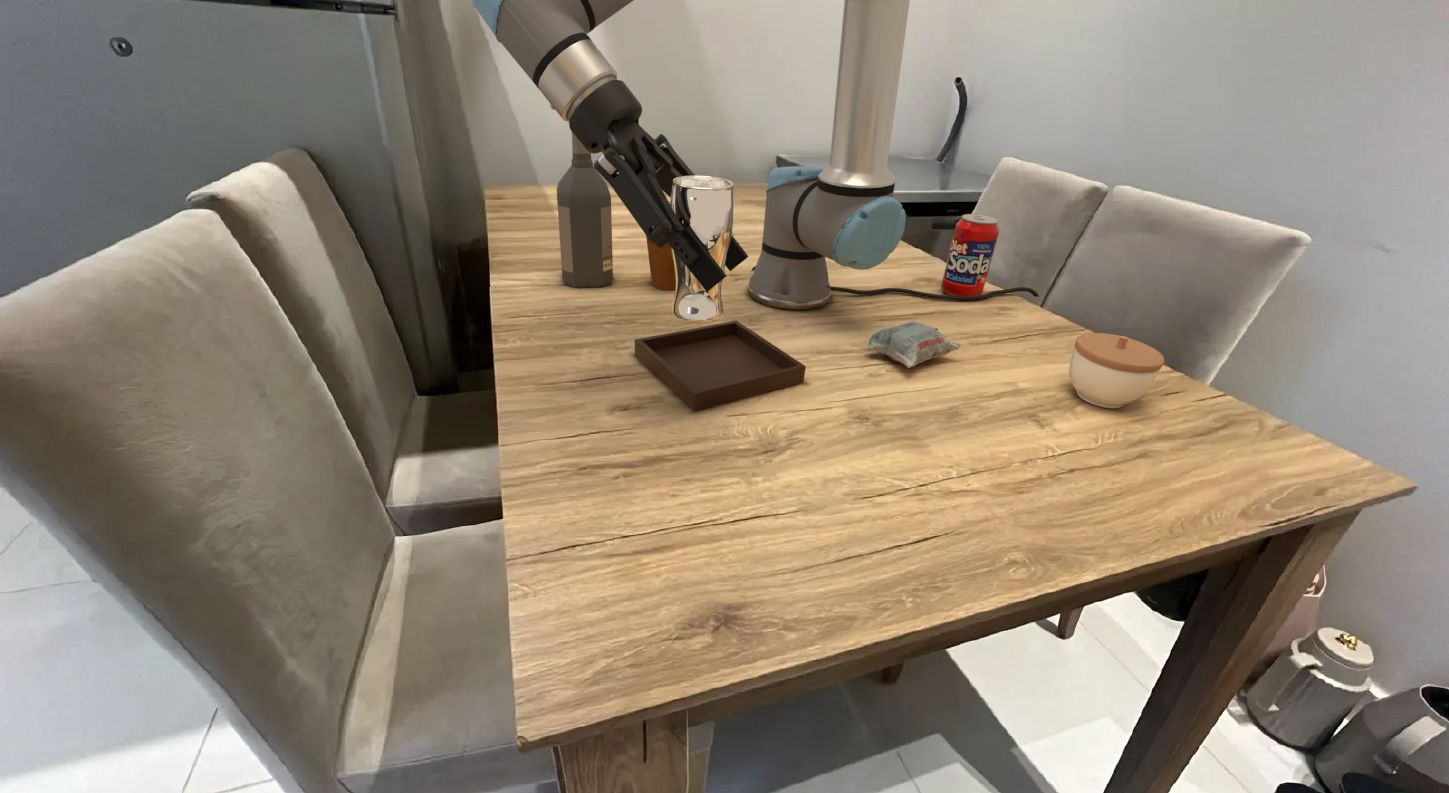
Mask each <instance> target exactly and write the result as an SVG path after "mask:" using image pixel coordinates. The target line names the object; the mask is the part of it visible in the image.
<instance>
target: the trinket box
mask: <svg viewBox="0 0 1449 793" xmlns="http://www.w3.org/2000/svg"><path fill="white" fill-rule="evenodd" d="M1164 364H1165V358H1164V356H1163V354H1162V353H1161V352H1160V351H1158V350H1157V349H1155V348H1154V347H1152V346H1150V345H1148V344H1146V343H1143V342H1141V341H1139V340H1136V339H1133V338H1131V337H1128V336H1125V335H1118V334H1112V333H1105V332H1104V333H1103V332H1088V333H1082V334H1080V335H1079V336H1077V338H1076V339H1075V342H1074V347H1073V350H1072V354H1071V357H1070V361H1069V366H1068V367H1069V368H1068V374H1069V379H1070V382H1071V385H1072V386H1073V388H1074V389H1075V393H1076V395H1077V396H1078V397H1079V398H1080V399H1082V401H1085V402H1087V403H1088V404H1091V405H1093V406H1097V407H1099V408H1105V409H1119V408H1122V407H1124V406H1125V405H1127V404H1130V403H1133V402H1135V401H1137V400H1138V399H1140V398H1141V397H1142V396H1144V395H1145V394H1146V393H1147V391H1148V390H1149V389H1150V388H1151V386H1152V385H1153V384H1154V382H1155V381H1156V378H1157V377H1158V374H1159V372H1160V370H1161V369H1162V368H1163V366H1164Z"/></svg>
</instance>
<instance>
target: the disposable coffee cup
mask: <svg viewBox="0 0 1449 793" xmlns="http://www.w3.org/2000/svg"><path fill="white" fill-rule="evenodd" d="M652 227H653V226H652ZM645 237H646V238H645V239H646V245H647V254H648V263H649V270H650V279H651V285H652V286H653V287H654V288H657V289H660V290H667V291H669V290H675V288H676V276H675V269H674V262H673V256H672V249H671V246H670V245H669V243H667V244H666V245H665V246H664V247H662V248H659V247H658V246H657V245H656V244H655V243H653V242H651V241H650V240H649V238H648V237H647V236H646V235H645Z"/></svg>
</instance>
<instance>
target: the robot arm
mask: <svg viewBox="0 0 1449 793" xmlns="http://www.w3.org/2000/svg"><path fill="white" fill-rule="evenodd" d="M634 1H635V0H471V2H472V5H473V7H474V8H475V10H476V11H477V12H478V14H479V15H480V16H481V18H482V19H483V21H484V22H485V23H486V25H487V26H488V28H489V29H490V30H491V32H492V33H493V35H494V36H495V40H496V41H497V42H498V43H500V44H501V45H502V46H503V47H504V49H505V50H506V51H507V53H508V54H510V56H511V57H512V59H513V60H514V61H515V62H516V63H517V65H518V66H519V67H520V68H521V69H522V71H523V72H524V73H525V74H526V75H527V77H528V78H529V79H530V80H531V81H532V83H533V85H535V86H536V88H537V89H538V90H539V91H540V92H541V94H542V95H543V96H544V98H545V99H546V101H548V103H549V107H550V108H551V110H553V111H556V113H557V114H558V115H559V116H560V118H561V119H562V120H563V121H564V122H568V126H569V130H570V132H571V133H572V132H573V133H574V135H575V136H576V137H577V138H578V140H579V141H580V142H581V143H582V145H583V146H584V147H585V148H586V150H587V151H588V152H590V153H591V154H599V153H602V154H601V155H600V156H599V157H598V158H597V159H596V161H594V163H593V167H594V168H595V170H596V171H597V172H598V173H599V175H600V176H601V177H602V178H603V179H604V180H605V181H606V182H607V183H608V184H609V186H610V187H611V188H612V190H613V191H614V192H615V194H616V195H617V196H618V198H619V199H620V201H621V202H622V204H623V205H624V206H625V208H626V210H628V212H629V213H630V215H631V216H632V218H633V219H634V221H635V222H636V223H637V224H638V227H640V228H641V230H642V231H643V233H644V234H645V237H646V236H647V237H648V238H649V240H650V241H651V242H653V243H655V244H656V245H657V246H658V247H659V248H662V247H664V246H665V245H666V244H667V243H669V245H670V246H671V248H672V249H673V250H674V251H675V253H676V254H677V255H678V256H679V258H680V259H681V260H682V261H683V263H684V264H685V265H686V266H687V268H688V269H689V270H690V271H691V273H692V274H693V275H694V276H695V278H696V279H697V280H698V281H699V283H700V284H701V285H702V287H703V288H704V289H705V290H706V292H708V291H709V290H710V289H712V288H713V287H714V286H715V285H717V284H718V283H719V282H720V281H722V282H723V280H725V278H726V277H728V275H727V274H726V273H725V270H724V271H723V270H722V269H721V268H720V266H719V265H718V264H717V263H716V261H715V260H714V259H713V257H712V256H711V255H710V254H709V252H708V251H707V250H706V249H705V247H704V246H703V245H702V243H701V242H700V241H699V240H698V238H697V237H696V236H695V235H694V233H693V232H692V231H691V230H690V228H689V227H687V228H685V229H684V230H683V231H682V232H681V230H682V229H683V227H682V225H681V223H680V221H679V220H678V218H677V216H676V214H675V212H674V211H673V209H672V207H671V205H670V200H668V198H667V196H668V197H669V198H670V199H671V189H672V179H674V178H676V177H681V176H696V174H695V173H694V172H693V171H692V170H691V169H690V168H689V166H688V165H687V163H686V162H684V160H683V159H682V158H681V157H680V156H679V154H678V153H677V152H676V151H675V149H674V148H673V146H672V144H671V143H670V141H669V140H668V138H667V137H666V136H665V135H664V134H662V133H660V134H659V135H657V137H656V138H653V136H651V135H650V134H649V133H648V132H647V131H646V130H645V129H644V128H643V127H642V126H641V125H640V122H639V121H640V117H641V116H642V113H643V106H642V104H641V102H640V101H639V100H638V98H637V97H636V96H635V95H634V93H633V92H632V91H631V89H630V88H629V87H628V86H627V84H626V83H625V82H624V81H623V80H621V79H618V72H617V70H616V69H615V68H614V66H613V65H612V64H611V63H610V62H609V60H608V59H607V57H606V56H605V55H604V54H603V52H602V51H601V50H600V49H599V48H598V46H597V45H596V44H595V43H594V41H593V39H592V38H591V37H590V36H589V35H588V34H589V33H591V32H592V31H594V29H595V28H597V27H598V26H600V25H601V24H603V23H604V22H605V21H607V20H608V19H610V18H611V17H613V16H614V15H615V14H617V13H618V12H620V11H621V10H623V9H624V8H625V7H627V6H628V5H630V4H631V3H633V2H634ZM910 3H911V0H844V2H843V10H842V11H843V12H842V13H843V14H842V23H841V32H840V34H841V35H840V45H839V57H838V65H837V66H838V67H837V78H836V80H837V81H836V89H835V99H834V109H833V110H834V111H833V120H832V121H833V122H832V134H831V141H830V142H831V144H830V155H829V163H828V164H827V166H817V165H816V166H813V165H812V166H811V165H806V166H805V165H801V166H800V165H796V166H795V165H794V166H780V167H775V168H773V169H772V170H771V171H770V173H769V174H768V179H767V185H766V189H765V194H766V196H765V208H764V221H763V230H762V242H761V243H762V244H761V252H760V255H759V257H758V259H757V262H756V265H755V266H753V267H752V269H751V272H750V273H752V275H751V276H750V278H749V281H748V287H747V293H748V295H749V297H750V298H752V299H753V300H755V301H756V302H758V303H760V304H763V305H765V306H769V307H771V308H778V309H783V310H795V311H796V310H797V311H800V310H801V311H803V310H805V311H806V310H812V309H813V310H814V309H818V308H821V307H823V306H825V305H827V304H828V303H829V301H830V298H831V291H832V292H839V293H848V294H852V295H861V296H862V295H863V296H870V295H877V294H882V293H883V294H884V293H899V294H900V293H901V294H907V295H913V296H919V297H922V298H923V297H924V298H928V299H929V298H930V299H936V300H946V301H978V300H979V301H980V300H984V299H987V298H990V297H992V296H997V295H998V296H999V295H1005V294H1011V293H1017V292H1026V293H1030V294H1031V295H1032V296H1033V297H1036V298H1038V297H1040V295H1039V293H1038V292H1037V291H1036V290H1034V289H1033V288H1031V287H1027V286H1017V287H1011V288H1007V289H998V290H993V291H990V292H987V293H984V294H983V293H982V294H981V295H979V296H975V297H969V296H950V295H948V294H937V293H930V292H924V291H919V290H914V289H907V288H901V287H885V288H877V289H868V290H863V289H861V290H860V289H854V288H847V287H840V286H833V285H831V284H830V281H829V280H830V279H829V272H828V266H827V259H826V258H828V260H829V259H830V260H831V261H834V262H835V263H836V264H838V265H839V266H843V267H849V268H851V269H854V270H857V271H865V270H871V269H873V268H875V267H877V266H879V265H880V264H882V263H883V262H884V261H886V260H887V259H888V257H889V256H890V254H892V253H893V252H894V251H895V250H896V248H897V247H898V245H899V244H900V242H901V239H902V238H903V235H904V232H905V229H906V224H907V223H906V222H907V218H906V210H905V209H904V208H903V204H901V202H900V201H898V200H897V198H895V197H894V193H895V186H896V177H895V175H893V173H892V171H890V169H889V168H888V163H889V162H888V161H889V155H890V147H891V140H892V132H893V125H894V119H895V110H896V103H897V96H898V89H899V82H900V75H901V69H902V67H901V66H902V61H903V60H902V59H903V53H904V46H905V39H906V31H907V23H908V16H909V8H910ZM666 195H667V196H666ZM652 226H653V227H652ZM748 258H749V255H748V254H747V252H746V251H745V250H744V248H743V247H742V246H741V244H740V243H739V242H738V241H737V239H736V238H735V237H734V235H732V237H731V242H730V247H729V252H728V256H727V260H726V264H725V268H727V269H728V271H729V272H732V271H733V270H734V269H735V268H737V267H738V266H739V265H740V264H742V263H743V262H744V261H745V260H747V259H748Z"/></svg>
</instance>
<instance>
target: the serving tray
mask: <svg viewBox="0 0 1449 793" xmlns="http://www.w3.org/2000/svg"><path fill="white" fill-rule="evenodd" d="M634 356H635V357H636V359H638V360H639V362H641V363H642V364H643V365H644V366H645V367H646V368H647V369H648V370H650V371H651V372H652V373H653V375H655V376H656V377H657V378H658V379H659V380H660V381H661V382H662V383H663V384H664V385H666V386H667V388H669V389H670V391H672V392H673V393H674V394H675V395H676V396H677V397H678V398H679V399H680V400H681V401H682V402H683V403H684V404H685V405H687V406H688V407H689V408H690V409H691V410H692V411H693V412H697V411H701V410H705V409H708V408H713V407H716V406H720V405H725V404H728V403H731V402H735V401H739V400H743V399H747V398H750V397H754V396H758V395H763V394H765V393H766V394H767V393H769V392H773V391H777V390H781V389H785V388H789V387H792V386H796V385H800V384H804V382H805V375H806V368H807V367H806V365H805V364H803V363H802V362H800V361H798V360H797V359H795V358H794V357H792V356H791V355H790V354H788V353H786V352H785V351H783V350H782V349H781V348H779V347H777V346H776V345H774V344H773V343H772V342H770V341H768V340H767V339H765V338H764V337H763V336H761V335H759V334H758V333H756V332H755V331H753V330H752V329H750V327H747V326H745V325H744V324H742V323H741V322H740V321H738V320H732V321H726V322H721V323H715V324H711V325H705V326H701V327H694V328H689V329H684V330H678V331H674V332H667V333H662V334H657V335H653V336H652V335H651V336H646V337H641V338H636V339H634Z"/></svg>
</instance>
